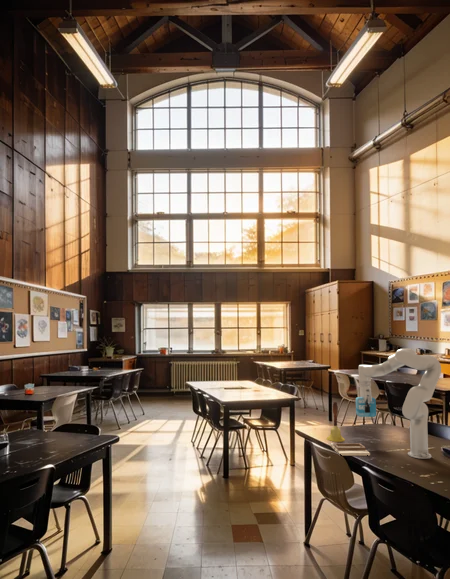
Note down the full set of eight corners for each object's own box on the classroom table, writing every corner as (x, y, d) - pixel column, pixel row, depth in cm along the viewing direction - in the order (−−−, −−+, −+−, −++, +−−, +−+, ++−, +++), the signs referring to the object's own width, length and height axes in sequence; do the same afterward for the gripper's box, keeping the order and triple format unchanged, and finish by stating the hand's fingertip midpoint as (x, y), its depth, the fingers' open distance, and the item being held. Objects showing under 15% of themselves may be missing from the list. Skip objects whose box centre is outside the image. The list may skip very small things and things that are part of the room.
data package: (357, 416, 284) (357, 398, 285) (356, 415, 289) (355, 397, 290) (376, 416, 284) (375, 398, 285) (374, 415, 288) (373, 397, 289)
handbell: (346, 442, 289) (345, 403, 291) (327, 441, 290) (327, 403, 292) (343, 437, 301) (343, 400, 303) (325, 437, 302) (324, 400, 305)
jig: (370, 455, 258) (370, 450, 258) (339, 455, 258) (339, 450, 258) (358, 445, 280) (357, 440, 280) (330, 445, 279) (330, 440, 280)
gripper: (375, 385, 280) (376, 414, 278) (366, 382, 297) (367, 409, 295) (363, 385, 280) (364, 414, 278) (355, 382, 297) (356, 409, 295)
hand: (366, 411), depth 286 cm, fingers closed on data package, 4 cm apart
